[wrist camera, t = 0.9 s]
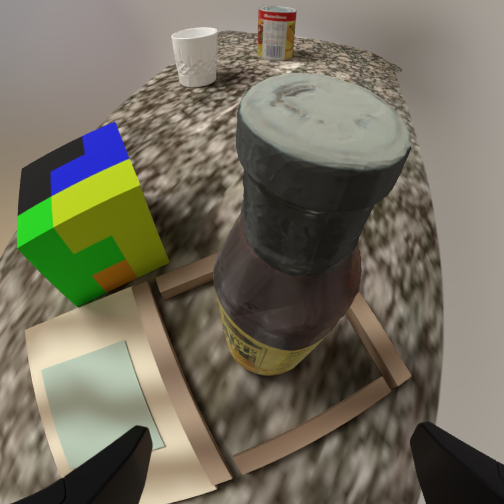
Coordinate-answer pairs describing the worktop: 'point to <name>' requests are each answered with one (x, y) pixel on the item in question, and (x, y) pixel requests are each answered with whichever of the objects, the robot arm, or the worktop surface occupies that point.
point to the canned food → (276, 33)
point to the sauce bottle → (302, 213)
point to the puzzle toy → (87, 218)
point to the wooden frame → (163, 388)
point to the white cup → (196, 56)
